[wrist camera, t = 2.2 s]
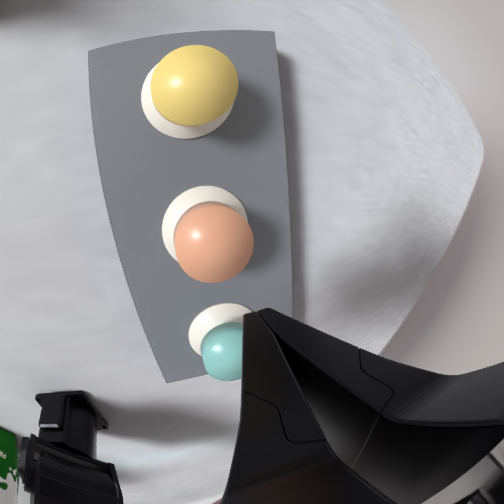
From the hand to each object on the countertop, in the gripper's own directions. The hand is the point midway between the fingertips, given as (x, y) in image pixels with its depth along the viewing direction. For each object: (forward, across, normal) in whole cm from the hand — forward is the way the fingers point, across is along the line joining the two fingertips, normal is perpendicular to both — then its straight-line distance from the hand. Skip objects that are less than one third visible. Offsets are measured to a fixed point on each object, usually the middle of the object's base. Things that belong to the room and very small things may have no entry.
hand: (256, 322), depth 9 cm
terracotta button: (+8, 0, 0) cm, 8 cm away
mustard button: (+8, 0, -8) cm, 11 cm away
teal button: (+8, 0, +8) cm, 11 cm away
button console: (+12, 0, 0) cm, 12 cm away
